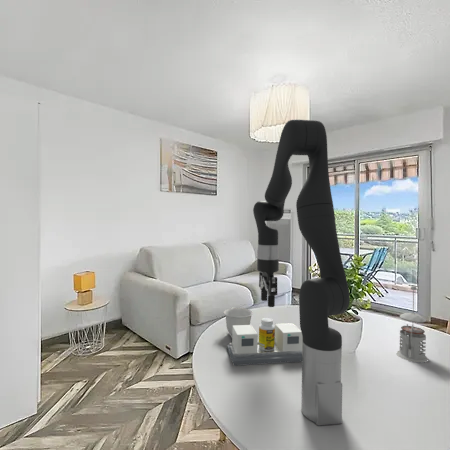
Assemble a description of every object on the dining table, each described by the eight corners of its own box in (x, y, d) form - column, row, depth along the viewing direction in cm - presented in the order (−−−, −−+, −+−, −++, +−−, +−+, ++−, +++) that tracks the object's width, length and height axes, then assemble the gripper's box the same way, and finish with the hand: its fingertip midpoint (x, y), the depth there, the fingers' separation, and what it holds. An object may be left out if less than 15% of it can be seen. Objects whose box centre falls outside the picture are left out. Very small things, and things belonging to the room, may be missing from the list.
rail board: (294, 345, 114) (294, 341, 114) (308, 360, 102) (309, 356, 101) (227, 348, 110) (227, 344, 110) (233, 365, 98) (233, 360, 98)
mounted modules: (292, 341, 112) (293, 323, 112) (302, 352, 103) (303, 332, 103) (232, 344, 109) (232, 325, 109) (237, 356, 99) (237, 335, 99)
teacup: (243, 327, 133) (243, 305, 133) (257, 340, 119) (257, 315, 118) (217, 330, 129) (217, 307, 129) (228, 343, 115) (229, 317, 115)
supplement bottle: (265, 353, 102) (266, 323, 102) (255, 347, 107) (255, 318, 106) (277, 349, 105) (278, 320, 105) (267, 344, 110) (267, 316, 110)
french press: (431, 356, 106) (432, 286, 106) (424, 367, 98) (426, 291, 98) (399, 348, 113) (401, 282, 113) (391, 358, 105) (393, 286, 104)
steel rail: (295, 343, 112) (295, 339, 112) (305, 354, 103) (305, 350, 103) (229, 346, 109) (229, 343, 109) (234, 358, 100) (234, 354, 100)
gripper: (285, 259, 99) (284, 308, 99) (272, 255, 113) (271, 298, 113) (263, 260, 98) (262, 309, 98) (252, 255, 112) (252, 298, 112)
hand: (267, 303), depth 106 cm, fingers open, 8 cm apart
